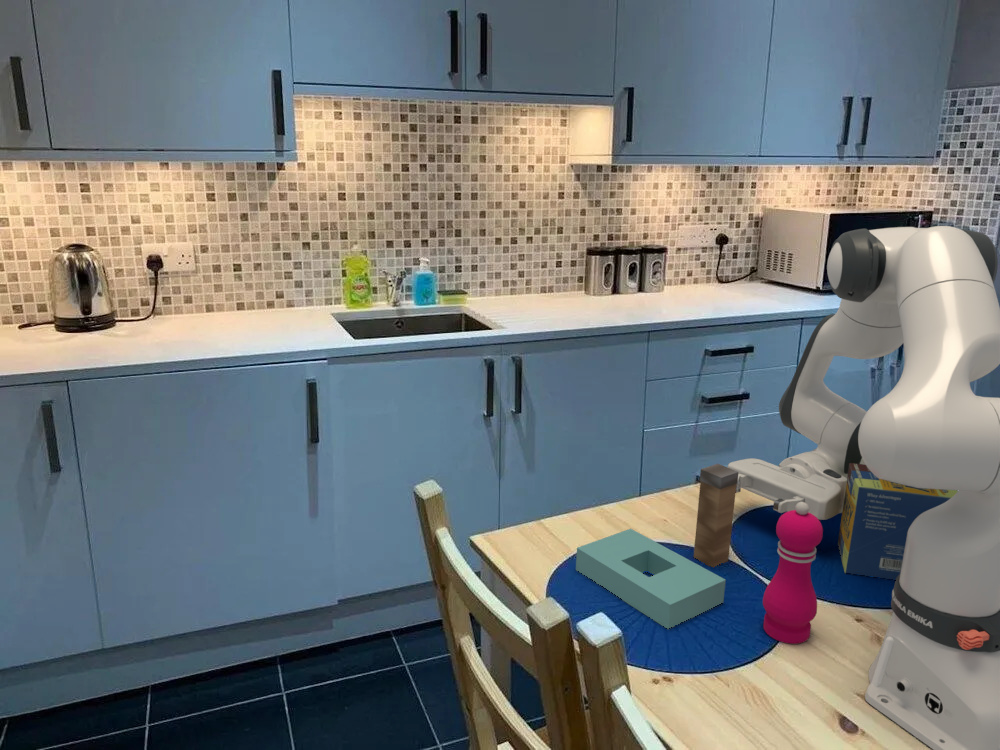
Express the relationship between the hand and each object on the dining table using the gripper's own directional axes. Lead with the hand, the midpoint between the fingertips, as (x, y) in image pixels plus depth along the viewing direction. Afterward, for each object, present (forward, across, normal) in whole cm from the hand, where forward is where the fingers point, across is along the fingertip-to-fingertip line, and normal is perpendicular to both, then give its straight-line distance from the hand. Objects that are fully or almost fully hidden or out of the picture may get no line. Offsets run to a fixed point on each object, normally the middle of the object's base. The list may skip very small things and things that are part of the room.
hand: (753, 497), depth 136 cm
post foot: (+24, 0, +9) cm, 26 cm away
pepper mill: (+17, +20, +9) cm, 27 cm away
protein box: (-14, +18, +9) cm, 24 cm away
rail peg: (+10, 0, +9) cm, 13 cm away
